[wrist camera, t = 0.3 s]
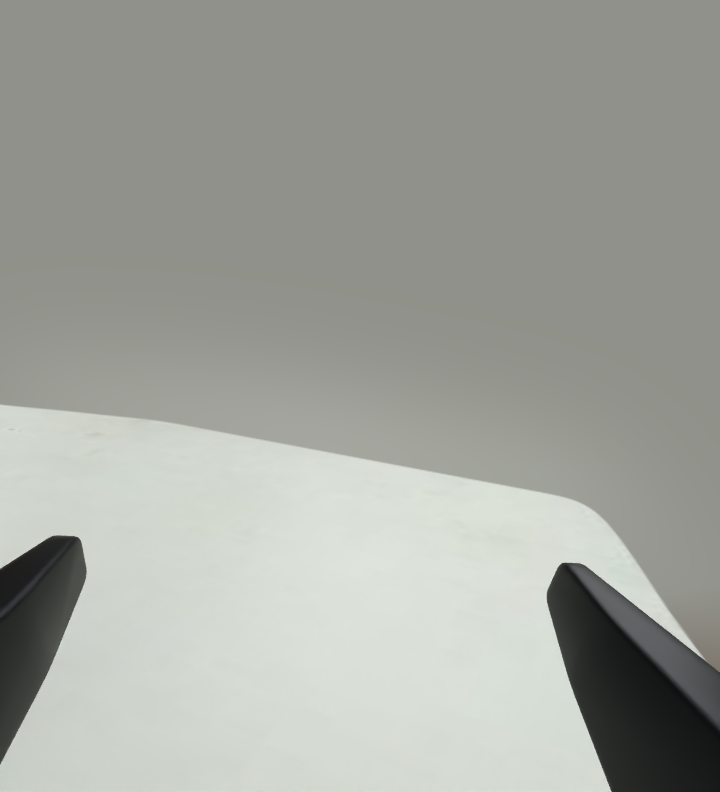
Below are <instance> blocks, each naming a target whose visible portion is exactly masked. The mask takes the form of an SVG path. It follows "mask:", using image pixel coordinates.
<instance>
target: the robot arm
mask: <svg viewBox="0 0 720 792" xmlns="http://www.w3.org/2000/svg"><path fill="white" fill-rule="evenodd" d="M85 579H86V564H85V559H84V554H83V548H82V543H81V540H80V539H79V538H78V537H75V536H58V535H57V536H52V537H50V538H48V539H46V540H45V541H43V542H42V543H40V544H38V545H37V546H35V547H34V548H32V549H31V550H29V551H28V552H26V553H24V554H23V555H21V556H20V557H18V558H17V559H15V560H13V561H12V562H10V563H9V564H7V565H6V566H4V567H3V568H1V569H0V764H1V762H2V760H3V758H4V756H5V754H6V752H7V750H8V748H9V747H10V745H11V743H12V741H13V739H14V737H15V735H16V733H17V731H18V729H19V727H20V726H21V724H22V722H23V720H24V718H25V716H26V714H27V712H28V710H29V708H30V706H31V705H32V703H33V701H34V699H35V697H36V695H37V693H38V691H39V689H40V687H41V685H42V683H43V681H44V679H45V677H46V675H47V673H48V671H49V669H50V666H51V664H52V662H53V659H54V657H55V655H56V652H57V650H58V647H59V645H60V642H61V640H62V637H63V635H64V632H65V630H66V627H67V625H68V622H69V620H70V618H71V615H72V613H73V610H74V608H75V605H76V603H77V600H78V598H79V595H80V593H81V590H82V588H83V585H84V583H85ZM547 603H548V607H549V611H550V614H551V618H552V622H553V625H554V629H555V632H556V636H557V639H558V643H559V646H560V650H561V653H562V657H563V661H564V664H565V668H566V671H567V674H568V678H569V681H570V684H571V687H572V689H573V692H574V695H575V698H576V700H577V703H578V706H579V708H580V711H581V713H582V716H583V719H584V721H585V724H586V726H587V729H588V732H589V734H590V737H591V739H592V742H593V745H594V747H595V750H596V752H597V755H598V758H599V760H600V763H601V765H602V768H603V771H604V773H605V776H606V778H607V781H608V784H609V786H610V789H611V792H720V672H718V671H717V670H716V669H715V668H713V667H712V666H711V665H710V664H708V663H707V662H706V661H705V660H703V659H702V658H701V657H700V656H698V655H697V654H696V653H695V652H693V651H692V650H691V649H689V648H688V647H687V646H686V645H684V644H683V643H682V642H681V641H679V640H678V639H677V638H676V637H674V636H673V635H672V634H671V633H669V632H668V631H667V630H666V629H664V628H663V627H662V626H661V625H659V624H658V623H657V622H655V621H654V620H653V619H652V618H650V617H649V616H648V615H647V614H645V613H644V612H643V611H642V610H640V609H639V608H638V607H637V606H635V605H634V604H633V603H632V602H630V601H629V600H628V599H626V598H625V597H624V596H623V595H621V594H620V593H619V592H618V591H616V590H615V589H614V588H613V587H611V586H610V585H609V584H608V583H606V582H605V581H604V580H603V579H601V578H600V577H599V576H598V575H596V574H595V573H594V572H592V571H591V570H590V569H589V568H587V567H586V566H585V565H583V564H579V563H562V564H561V565H559V567H558V568H557V571H556V573H555V575H554V577H553V579H552V582H551V584H550V586H549V588H548V591H547Z"/></svg>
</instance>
